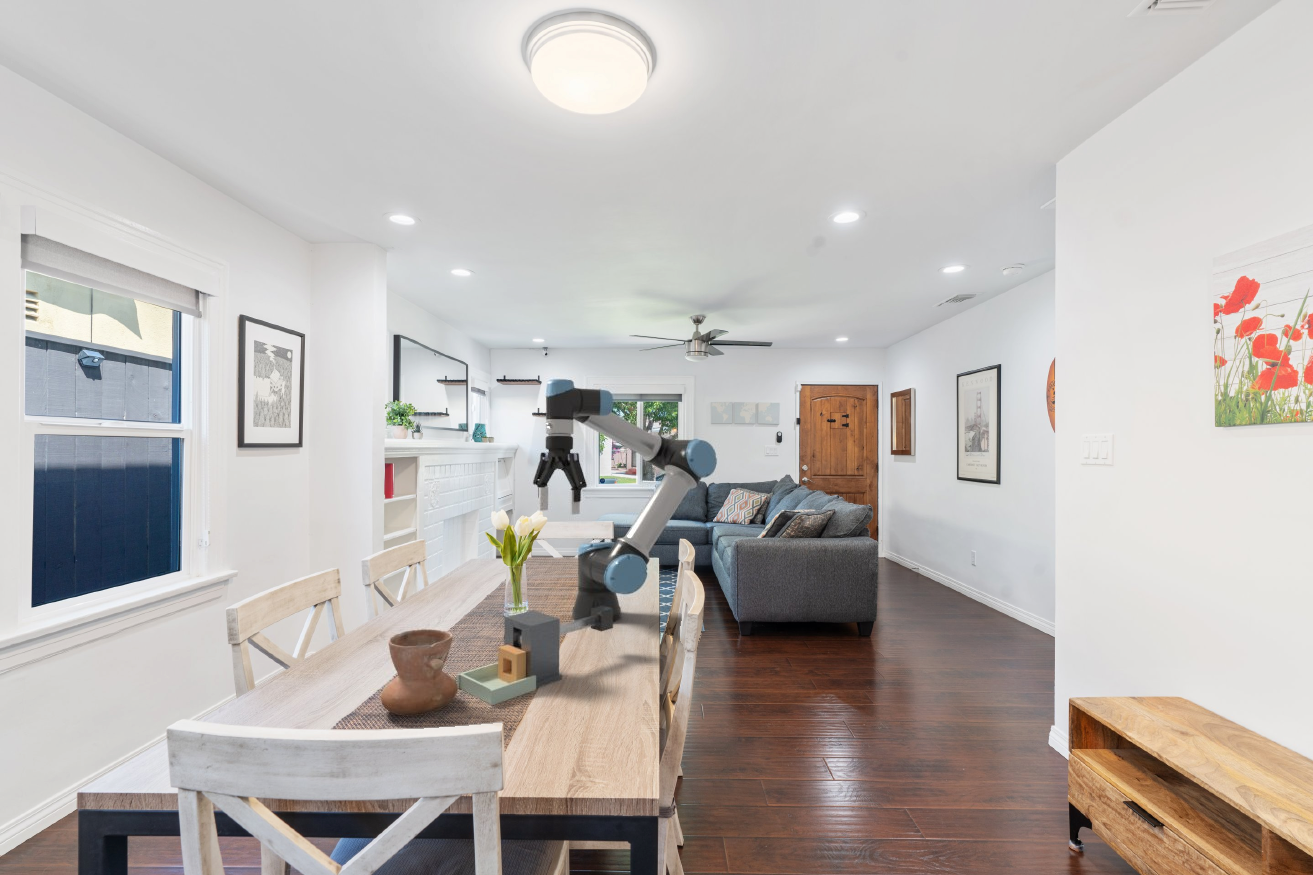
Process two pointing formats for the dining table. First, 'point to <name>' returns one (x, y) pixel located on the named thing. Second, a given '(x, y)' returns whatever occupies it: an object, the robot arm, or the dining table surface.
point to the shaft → (588, 622)
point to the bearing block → (536, 644)
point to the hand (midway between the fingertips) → (558, 512)
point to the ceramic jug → (419, 673)
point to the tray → (493, 684)
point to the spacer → (511, 664)
